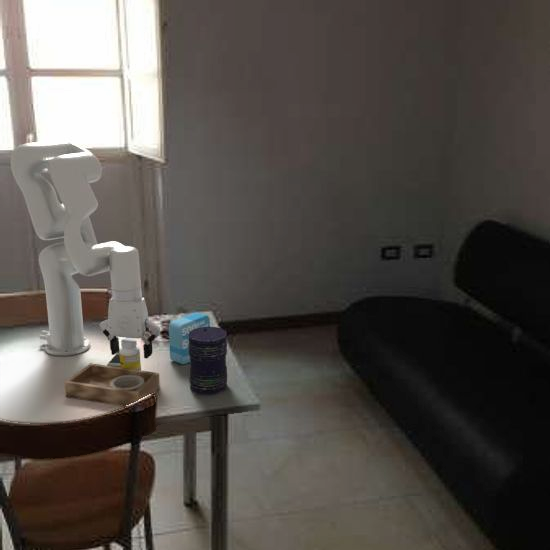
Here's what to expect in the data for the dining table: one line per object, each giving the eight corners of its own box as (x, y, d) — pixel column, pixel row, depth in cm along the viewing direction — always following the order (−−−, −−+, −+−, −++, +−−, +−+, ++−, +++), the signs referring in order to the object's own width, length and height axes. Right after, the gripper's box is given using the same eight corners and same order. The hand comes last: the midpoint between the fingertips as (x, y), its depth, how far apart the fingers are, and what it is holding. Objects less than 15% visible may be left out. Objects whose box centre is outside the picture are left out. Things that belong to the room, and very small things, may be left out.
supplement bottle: (121, 369, 181) (119, 336, 178) (141, 369, 182) (140, 336, 179) (119, 378, 176) (117, 344, 173) (140, 377, 176) (138, 343, 174)
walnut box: (65, 396, 166) (64, 382, 164) (91, 376, 177) (90, 363, 175) (137, 408, 160) (137, 393, 159) (159, 387, 171) (159, 373, 170)
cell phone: (140, 354, 192) (140, 350, 191) (127, 371, 181) (127, 366, 181) (120, 353, 193) (119, 349, 192) (106, 369, 182) (105, 365, 182)
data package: (180, 366, 184) (179, 326, 180) (169, 361, 186) (168, 322, 183) (210, 352, 193) (210, 314, 189) (199, 348, 195) (198, 310, 192)
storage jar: (231, 393, 168) (230, 338, 164) (193, 398, 166) (191, 343, 161) (223, 376, 178) (222, 324, 173) (186, 381, 175) (185, 328, 171)
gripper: (89, 295, 171) (95, 357, 176) (150, 300, 166) (154, 363, 171) (105, 287, 178) (110, 346, 182) (163, 292, 173) (167, 352, 178)
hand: (131, 354), depth 177 cm, fingers open, 9 cm apart
